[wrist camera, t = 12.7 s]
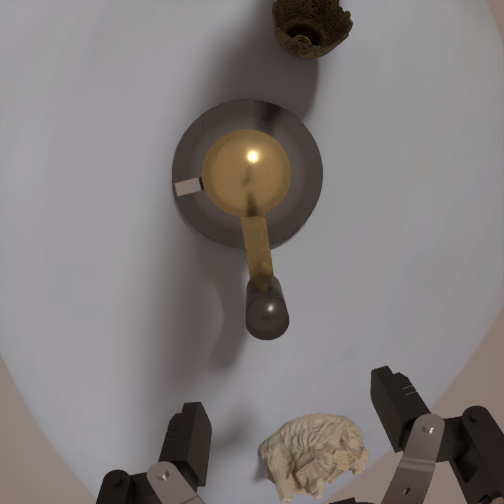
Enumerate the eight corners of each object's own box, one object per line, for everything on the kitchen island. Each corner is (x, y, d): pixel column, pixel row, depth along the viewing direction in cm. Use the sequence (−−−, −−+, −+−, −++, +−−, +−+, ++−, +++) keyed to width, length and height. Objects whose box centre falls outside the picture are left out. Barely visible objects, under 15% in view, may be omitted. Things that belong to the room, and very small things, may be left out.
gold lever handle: (200, 140, 24) (180, 127, 17) (281, 128, 24) (294, 110, 16) (228, 302, 28) (221, 345, 20) (301, 291, 28) (318, 332, 20)
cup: (343, 62, 27) (367, 35, 20) (287, 82, 28) (298, 55, 20) (311, 14, 26) (326, -20, 18) (256, 32, 26) (258, -3, 19)
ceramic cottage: (245, 449, 42) (252, 521, 28) (317, 397, 40) (347, 475, 25) (303, 470, 46) (318, 529, 31) (369, 426, 43) (399, 486, 29)
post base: (161, 121, 29) (143, 111, 23) (304, 91, 28) (315, 75, 23) (192, 258, 33) (181, 276, 28) (331, 230, 33) (347, 242, 27)
